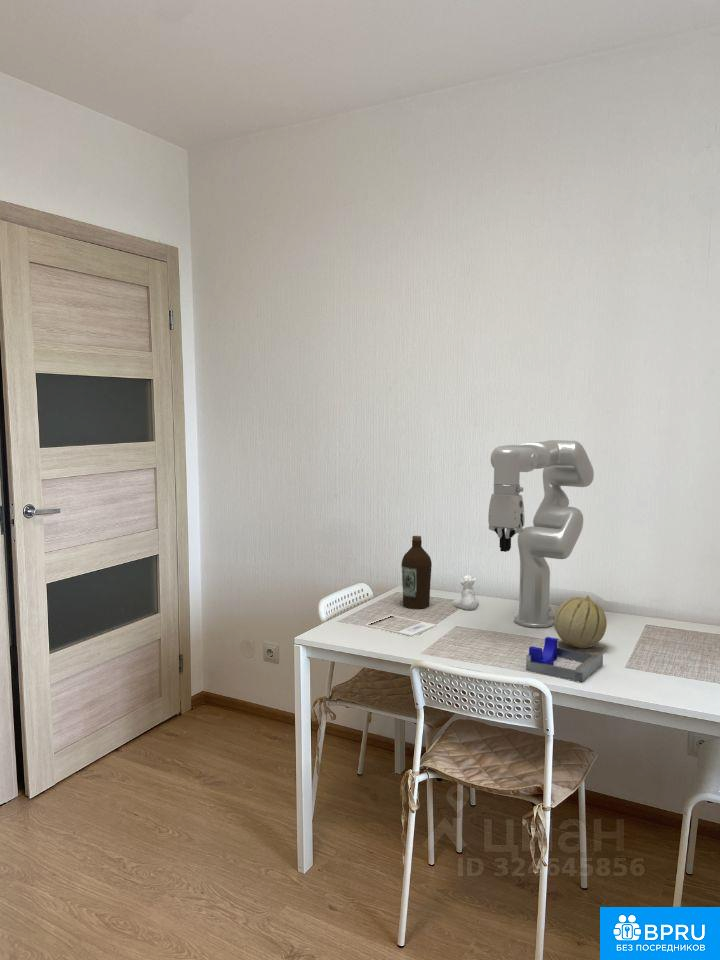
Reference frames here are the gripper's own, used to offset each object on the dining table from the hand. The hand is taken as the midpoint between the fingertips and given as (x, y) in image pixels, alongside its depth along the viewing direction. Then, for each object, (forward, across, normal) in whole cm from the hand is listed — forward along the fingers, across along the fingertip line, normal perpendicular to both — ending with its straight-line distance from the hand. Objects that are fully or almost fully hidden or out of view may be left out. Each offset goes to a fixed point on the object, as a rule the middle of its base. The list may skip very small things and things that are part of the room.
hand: (505, 550), depth 218 cm
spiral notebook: (+28, +32, +8) cm, 43 cm away
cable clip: (+28, -19, +13) cm, 36 cm away
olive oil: (+27, +42, -16) cm, 53 cm away
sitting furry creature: (+27, +26, -25) cm, 45 cm away
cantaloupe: (+27, -21, -7) cm, 35 cm away
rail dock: (+27, -24, +13) cm, 38 cm away
